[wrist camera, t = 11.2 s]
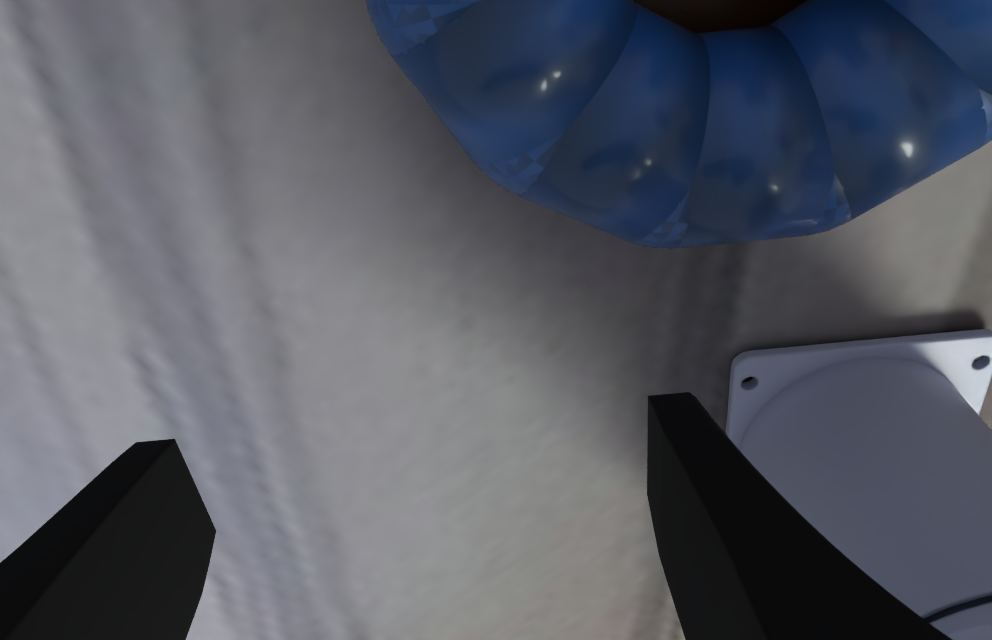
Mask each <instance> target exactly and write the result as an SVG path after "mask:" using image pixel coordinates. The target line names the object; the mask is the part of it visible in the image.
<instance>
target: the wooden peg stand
mask: <svg viewBox="0 0 992 640" xmlns="http://www.w3.org/2000/svg"><path fill="white" fill-rule="evenodd" d="M804 1H806V0H634V2H635V3H637V4H639V5H641V6H642V7H644V8H646V9H648V10H650V11H652V12H654V13H656V14H658V15H660V16H662V17H664V18H666V19H668V20H670V21H672V22H674V23H676V24H678V25H680V26H682V27H684V28H686V29H688V30H690V31H692V32H694V33H706V32H715V31H725V30H734V29H744V28H753V27H763V26H768V25H770V24H771V23H773V22H774V21H776V20H777V19H779V18H780V17H782V16H783V15H785V14H786V13H788V12H789V11H791V10H792V9H794V8H795V7H797V6H798V5H800V4H801V3H803V2H804Z"/></svg>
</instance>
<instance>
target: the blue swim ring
mask: <svg viewBox="0 0 992 640" xmlns="http://www.w3.org/2000/svg"><path fill="white" fill-rule="evenodd" d="M366 4H367V9H368V13H369V15H370V18H371V21H372V23H373V25H374V27H375V30H376V32H377V35H378V36H379V38H380V40H381V42H382V43H383V44H384V46H385V47H386V49H387V50H388V52H389V54H390V55H391V56H392V58H393V59H394V60H395V61H396V63H397V64H398V65H399V67H400V68H401V69H402V71H403V72H404V73H405V74H406V76H407V77H408V78H409V80H410V81H411V82H412V83H413V85H414V86H415V87H416V89H417V90H418V91H419V93H420V94H421V95H422V96H423V98H424V99H425V100H426V102H427V103H428V104H429V106H430V107H431V108H432V109H433V111H434V112H435V113H436V115H437V116H438V117H439V118H440V120H441V121H442V122H443V124H444V125H445V126H446V128H447V129H448V130H449V131H450V133H451V134H452V135H453V137H454V138H455V139H456V140H457V142H458V143H459V144H460V146H461V147H462V148H463V150H464V151H465V152H466V153H467V155H468V156H469V157H470V159H471V160H472V161H473V162H474V163H475V164H476V165H477V166H478V168H479V169H480V170H481V171H482V172H483V173H484V174H485V175H486V176H487V177H489V178H490V179H491V180H492V181H494V182H495V183H496V184H498V185H499V186H501V187H502V188H504V189H505V190H507V191H509V192H512V193H514V194H516V195H518V196H520V197H523V198H525V199H527V200H530V201H532V202H534V203H537V204H539V205H542V206H544V207H546V208H549V209H551V210H554V211H556V212H558V213H561V214H563V215H566V216H568V217H570V218H573V219H575V220H577V221H580V222H582V223H585V224H587V225H589V226H592V227H594V228H597V229H599V230H601V231H604V232H606V233H609V234H611V235H613V236H616V237H618V238H621V239H623V240H625V241H628V242H631V243H633V244H637V245H641V246H645V247H652V248H684V247H694V246H705V245H716V244H726V243H737V242H747V241H758V240H769V239H779V238H790V237H801V236H808V235H812V234H816V233H821V232H825V231H829V230H831V229H833V228H836V227H838V226H840V225H843V224H845V223H847V222H849V221H851V220H852V219H854V218H856V217H858V216H860V215H861V214H863V213H865V212H867V211H869V210H870V209H872V208H874V207H876V206H877V205H879V204H881V203H883V202H885V201H886V200H888V199H890V198H892V197H894V196H895V195H897V194H899V193H901V192H902V191H904V190H906V189H908V188H910V187H911V186H913V185H915V184H917V183H919V182H920V181H922V180H924V179H926V178H927V177H929V176H931V175H933V174H935V173H936V172H938V171H940V170H942V169H944V168H945V167H947V166H949V165H951V164H952V163H954V162H956V161H958V160H960V159H961V158H963V157H965V156H967V155H969V154H970V153H972V152H974V151H976V150H977V149H979V148H981V147H982V146H984V145H985V144H987V143H988V142H989V141H991V140H992V0H806V1H804V2H803V3H801V4H800V5H798V6H797V7H795V8H794V9H792V10H791V11H789V12H788V13H786V14H785V15H783V16H782V17H780V18H779V19H777V20H776V21H774V22H773V23H771V24H770V25H768V26H763V27H753V28H744V29H734V30H725V31H715V32H706V33H694V32H692V31H690V30H688V29H686V28H684V27H682V26H680V25H678V24H676V23H674V22H672V21H670V20H668V19H666V18H664V17H662V16H660V15H658V14H656V13H654V12H652V11H650V10H648V9H646V8H644V7H642V6H641V5H639V4H637V3H635V2H634V0H366Z"/></svg>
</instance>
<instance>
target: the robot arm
mask: <svg viewBox="0 0 992 640" xmlns="http://www.w3.org/2000/svg"><path fill="white" fill-rule="evenodd" d="M979 356H981V358H979V359H978V360H976V361H974V359H976V358H977V357H979ZM747 377H753V379H752V380H750V381H749V382H742V381H743V380H744V379H745V378H747ZM991 377H992V331H991V330H989V329H978V330H967V331H956V332H945V333H935V334H924V335H913V336H902V337H892V338H881V339H870V340H859V341H849V342H838V343H827V344H816V345H806V346H795V347H784V348H773V349H763V350H752V351H746V352H742V353H741V354H739V355H737V356H736V357H735V358H734V360H733V362H732V365H731V374H730V387H729V399H728V411H727V423H726V434H725V433H724V432H723V430H722V429H721V428H720V427H719V426H718V424H717V423H716V422H715V421H714V420H713V418H712V417H711V416H710V415H709V413H708V412H707V411H706V410H705V408H704V407H703V406H702V405H701V403H700V402H699V401H698V399H697V398H696V397H695V396H693V395H692V394H691V393H690V392H685V393H674V394H663V395H652V396H648V455H647V496H648V501H649V506H650V511H651V516H652V522H653V527H654V532H655V537H656V542H657V547H658V552H659V556H660V560H661V563H662V566H663V569H664V573H665V576H666V579H667V582H668V585H669V589H670V592H671V595H672V598H673V601H674V605H675V608H676V611H677V614H678V617H679V620H680V623H681V626H682V630H683V633H684V636H685V639H686V640H992V430H991V429H990V428H989V427H988V426H987V424H986V423H985V422H984V421H983V420H982V419H981V417H980V416H979V414H980V411H981V408H982V405H983V402H984V398H985V395H986V392H987V389H988V386H989V383H990V380H991ZM215 534H216V529H215V527H214V525H213V523H212V521H211V518H210V516H209V514H208V512H207V509H206V507H205V505H204V503H203V501H202V498H201V496H200V494H199V492H198V489H197V487H196V485H195V483H194V481H193V478H192V476H191V474H190V472H189V469H188V467H187V465H186V463H185V461H184V458H183V456H182V454H181V452H180V449H179V447H178V445H177V443H176V441H175V439H168V440H157V441H146V442H136V443H135V444H134V445H132V446H131V447H130V448H129V449H127V450H126V451H125V452H124V453H123V454H121V455H120V456H119V457H118V458H117V459H116V460H115V461H113V462H112V463H111V464H110V465H109V466H108V467H107V468H106V469H104V470H103V471H102V472H101V473H100V474H99V475H98V476H97V477H96V478H94V479H93V480H92V481H91V482H90V483H89V484H88V485H87V486H86V487H85V488H84V489H82V490H81V491H80V492H79V493H78V494H77V495H76V496H75V497H74V498H73V499H72V500H70V501H69V502H68V503H67V504H66V505H65V506H64V507H63V508H62V509H61V510H59V511H58V512H57V513H56V514H55V515H54V516H53V517H52V518H51V519H49V520H48V521H47V522H46V523H45V524H44V525H43V526H42V527H41V528H39V529H38V530H37V531H36V532H35V533H34V534H33V535H32V536H31V537H30V538H28V539H27V540H26V541H25V542H24V543H23V544H22V545H21V546H20V547H18V548H17V549H16V550H15V551H14V552H13V553H11V554H10V555H9V556H8V557H7V558H6V559H4V560H3V561H2V562H1V563H0V640H186V637H187V634H188V631H189V629H190V626H191V623H192V620H193V618H194V615H195V612H196V609H197V607H198V604H199V601H200V598H201V595H202V592H203V587H204V583H205V579H206V575H207V571H208V567H209V563H210V558H211V553H212V548H213V543H214V538H215Z"/></svg>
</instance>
